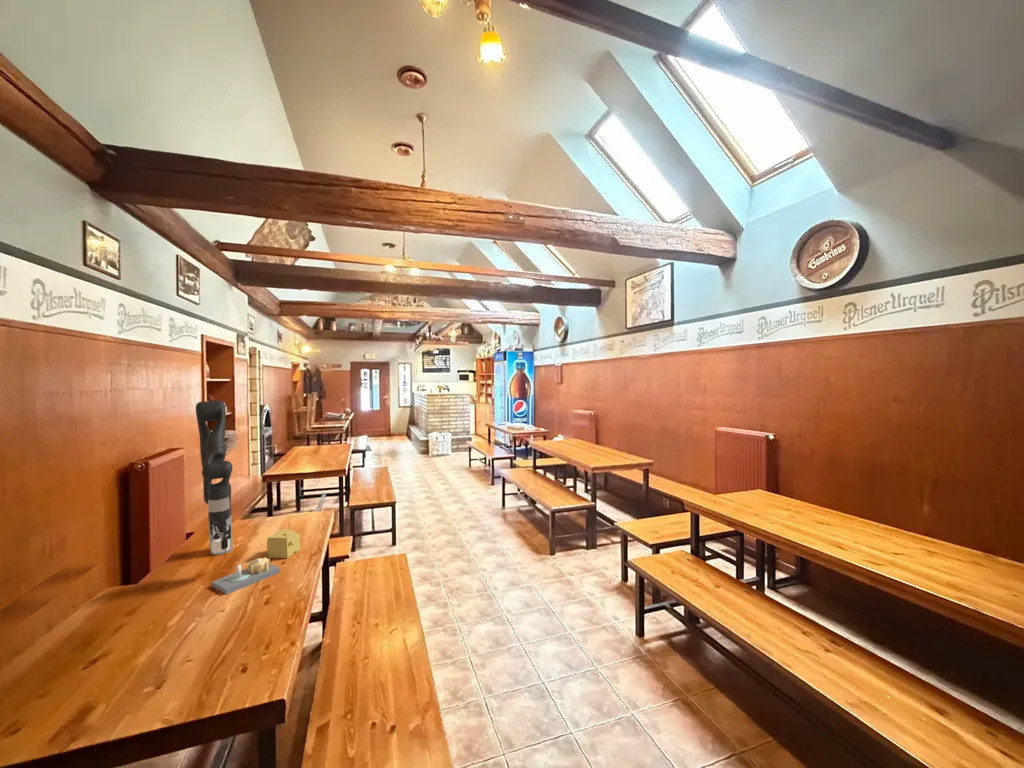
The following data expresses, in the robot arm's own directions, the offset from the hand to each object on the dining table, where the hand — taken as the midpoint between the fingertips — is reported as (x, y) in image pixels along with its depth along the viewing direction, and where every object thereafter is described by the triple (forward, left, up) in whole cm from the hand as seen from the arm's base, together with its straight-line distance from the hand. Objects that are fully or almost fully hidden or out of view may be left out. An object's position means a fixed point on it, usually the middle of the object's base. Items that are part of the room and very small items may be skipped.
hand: (220, 546), depth 181 cm
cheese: (+2, +26, -13) cm, 29 cm away
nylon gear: (0, 0, -1) cm, 1 cm away
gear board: (+13, +4, -12) cm, 18 cm away
